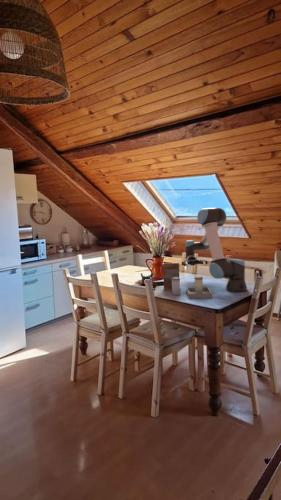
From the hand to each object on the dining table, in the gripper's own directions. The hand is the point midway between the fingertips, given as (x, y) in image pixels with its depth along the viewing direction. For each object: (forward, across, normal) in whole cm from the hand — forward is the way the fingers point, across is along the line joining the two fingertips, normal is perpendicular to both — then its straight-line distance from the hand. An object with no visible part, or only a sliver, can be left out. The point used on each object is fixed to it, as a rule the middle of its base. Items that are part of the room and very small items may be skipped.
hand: (196, 264), depth 265 cm
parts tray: (+16, +1, -19) cm, 25 cm away
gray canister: (+13, +17, -19) cm, 29 cm away
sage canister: (+16, +1, -18) cm, 24 cm away
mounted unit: (-2, +19, -19) cm, 27 cm away
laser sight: (-14, +36, -19) cm, 43 cm away
